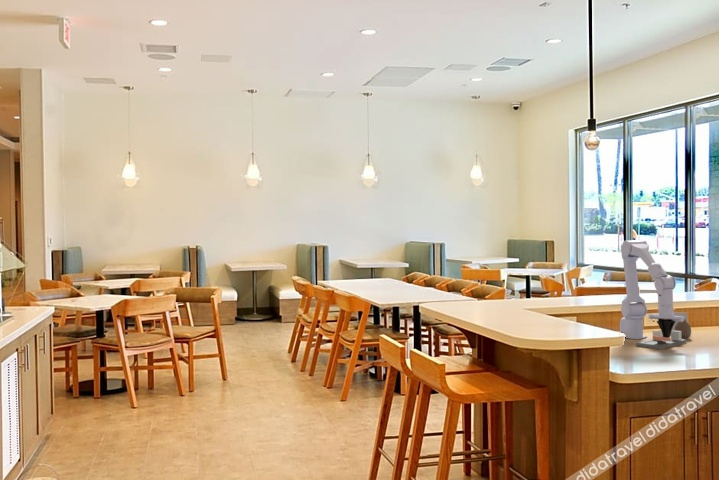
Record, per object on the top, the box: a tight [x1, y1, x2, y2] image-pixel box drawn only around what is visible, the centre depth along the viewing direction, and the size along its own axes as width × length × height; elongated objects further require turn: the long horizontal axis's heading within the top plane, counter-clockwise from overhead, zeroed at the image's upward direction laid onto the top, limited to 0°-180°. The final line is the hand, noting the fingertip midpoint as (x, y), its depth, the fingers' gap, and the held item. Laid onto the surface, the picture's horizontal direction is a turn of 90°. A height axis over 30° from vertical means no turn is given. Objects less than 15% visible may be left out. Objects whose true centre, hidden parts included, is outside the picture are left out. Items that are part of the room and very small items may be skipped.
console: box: [635, 338, 687, 350], centre depth 300 cm, size 11×20×2 cm, turn 127°
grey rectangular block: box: [671, 311, 689, 331], centre depth 323 cm, size 4×7×10 cm, turn 48°
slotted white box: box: [670, 330, 682, 341], centre depth 300 cm, size 3×2×4 cm
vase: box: [674, 319, 692, 340], centre depth 312 cm, size 7×7×9 cm
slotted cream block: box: [652, 329, 663, 337], centre depth 303 cm, size 3×2×4 cm
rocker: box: [652, 335, 671, 341], centre depth 294 cm, size 4×7×2 cm, turn 127°
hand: (666, 337), depth 296 cm, fingers closed, pressing on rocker
